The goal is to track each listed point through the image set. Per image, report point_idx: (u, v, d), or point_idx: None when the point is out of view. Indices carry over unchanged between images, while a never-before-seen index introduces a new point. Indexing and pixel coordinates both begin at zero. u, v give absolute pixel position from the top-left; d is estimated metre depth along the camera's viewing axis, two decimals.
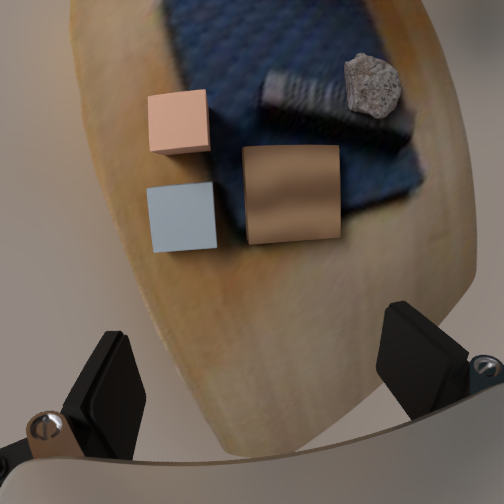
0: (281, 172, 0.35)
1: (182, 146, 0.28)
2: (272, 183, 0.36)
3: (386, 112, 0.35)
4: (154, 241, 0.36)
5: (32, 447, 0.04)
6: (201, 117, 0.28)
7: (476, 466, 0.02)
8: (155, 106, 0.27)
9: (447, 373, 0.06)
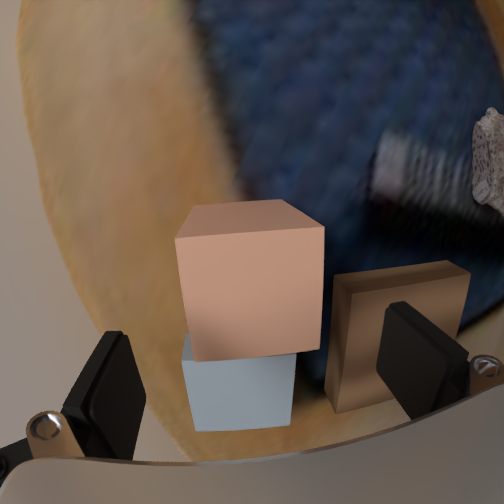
0: None
1: (266, 354, 0.14)
2: None
3: None
4: (197, 421, 0.21)
5: (32, 447, 0.04)
6: (312, 296, 0.13)
7: (476, 466, 0.02)
8: (198, 266, 0.12)
9: (447, 373, 0.06)
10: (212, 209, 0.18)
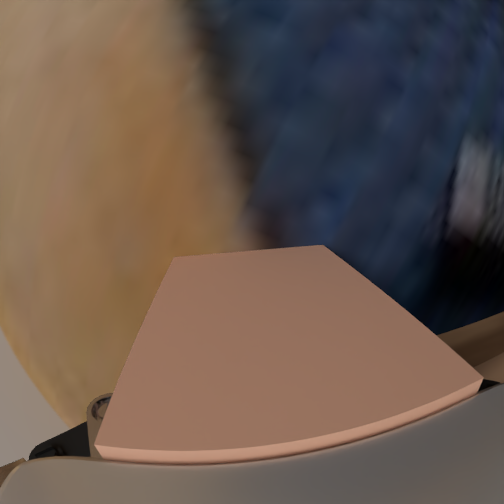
0: None
1: None
2: None
3: None
4: None
5: (90, 427, 0.05)
6: None
7: (476, 466, 0.02)
8: None
9: None
10: (204, 275, 0.09)
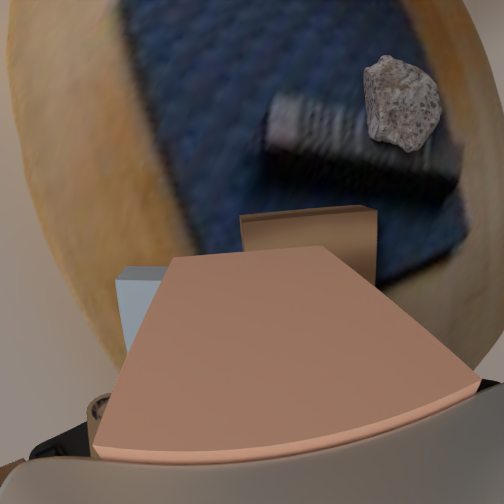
0: None
1: None
2: None
3: (421, 143, 0.24)
4: (128, 344, 0.26)
5: (90, 427, 0.05)
6: None
7: (476, 466, 0.02)
8: None
9: None
10: (203, 276, 0.09)
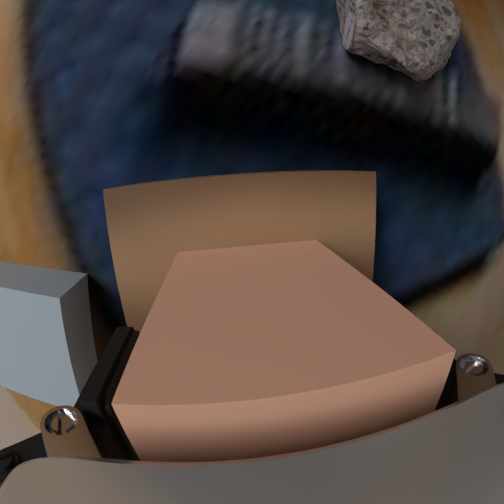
0: None
1: None
2: None
3: (435, 62, 0.12)
4: None
5: (46, 441, 0.04)
6: None
7: (476, 466, 0.02)
8: (177, 452, 0.04)
9: None
10: (206, 267, 0.10)
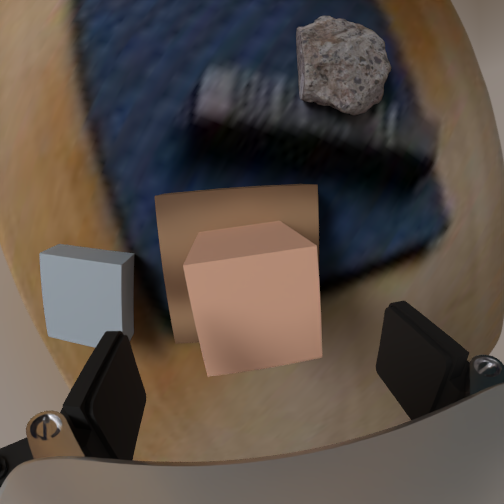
0: None
1: (273, 365, 0.15)
2: None
3: (362, 102, 0.21)
4: (48, 323, 0.22)
5: (32, 447, 0.04)
6: (311, 309, 0.14)
7: (476, 466, 0.02)
8: (205, 289, 0.13)
9: (447, 373, 0.06)
10: (215, 235, 0.19)
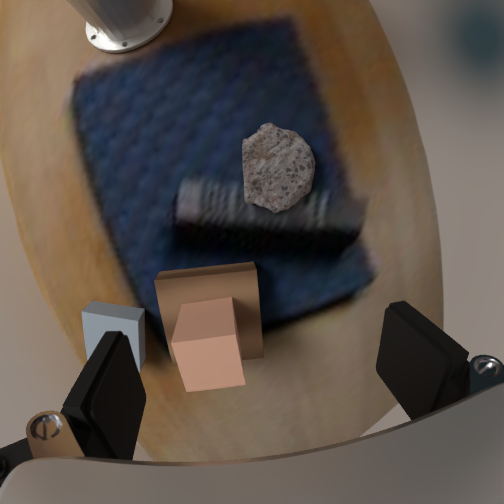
0: None
1: (219, 387, 0.27)
2: None
3: (288, 204, 0.34)
4: (88, 353, 0.35)
5: (32, 447, 0.04)
6: (235, 362, 0.27)
7: (476, 466, 0.02)
8: (182, 353, 0.26)
9: (447, 373, 0.06)
10: (190, 311, 0.32)
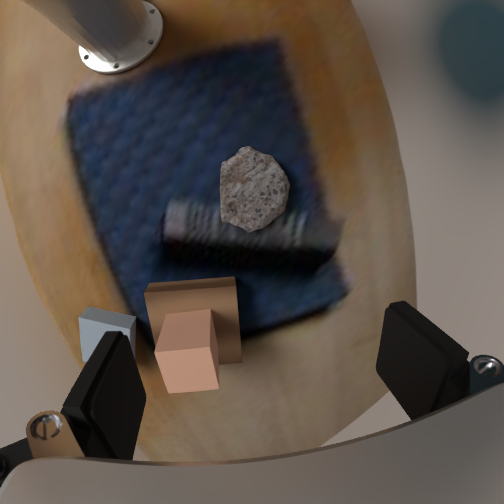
0: None
1: (196, 390, 0.31)
2: None
3: (261, 225, 0.37)
4: (83, 354, 0.38)
5: (32, 447, 0.04)
6: (210, 369, 0.30)
7: (476, 466, 0.02)
8: (164, 361, 0.30)
9: (447, 373, 0.06)
10: (173, 322, 0.35)
